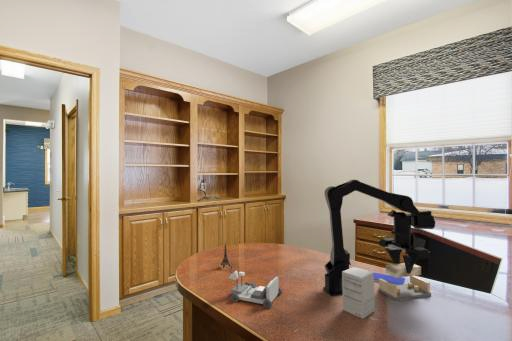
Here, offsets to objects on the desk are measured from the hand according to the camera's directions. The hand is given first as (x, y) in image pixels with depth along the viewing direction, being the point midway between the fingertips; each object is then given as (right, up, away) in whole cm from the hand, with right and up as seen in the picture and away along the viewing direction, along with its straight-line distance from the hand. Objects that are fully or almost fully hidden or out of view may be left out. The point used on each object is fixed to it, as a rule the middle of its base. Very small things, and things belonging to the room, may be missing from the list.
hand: (403, 270), depth 99 cm
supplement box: (-21, -8, -13) cm, 26 cm away
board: (0, -1, 0) cm, 1 cm away
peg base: (0, -8, 0) cm, 8 cm away
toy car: (-56, -10, -2) cm, 56 cm away
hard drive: (0, -9, +12) cm, 15 cm away
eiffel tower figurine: (-69, -10, +30) cm, 76 cm away
